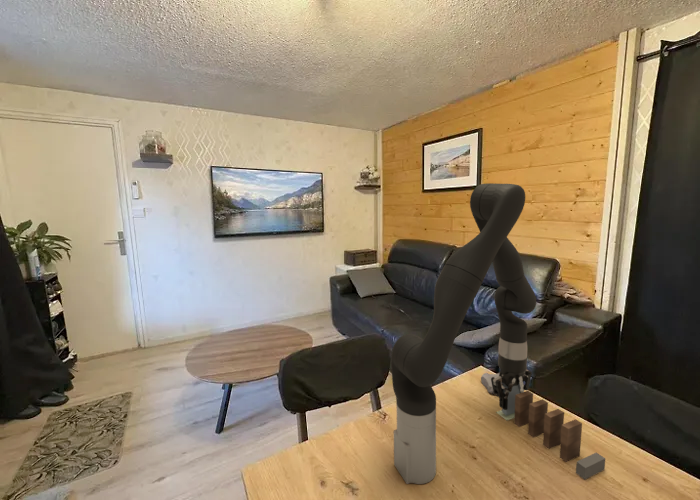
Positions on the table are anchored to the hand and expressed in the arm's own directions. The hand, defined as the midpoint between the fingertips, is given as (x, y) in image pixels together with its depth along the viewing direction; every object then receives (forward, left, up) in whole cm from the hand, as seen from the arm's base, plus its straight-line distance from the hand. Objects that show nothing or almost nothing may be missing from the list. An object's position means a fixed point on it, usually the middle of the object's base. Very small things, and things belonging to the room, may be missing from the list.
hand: (510, 405), depth 95 cm
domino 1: (0, 0, -2) cm, 2 cm away
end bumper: (0, -23, -3) cm, 23 cm away
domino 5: (0, -18, -3) cm, 18 cm away
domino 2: (0, -4, -3) cm, 5 cm away
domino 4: (0, -13, -3) cm, 14 cm away
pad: (0, 0, -3) cm, 3 cm away
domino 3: (0, -9, -3) cm, 9 cm away
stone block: (+8, +10, -3) cm, 13 cm away
